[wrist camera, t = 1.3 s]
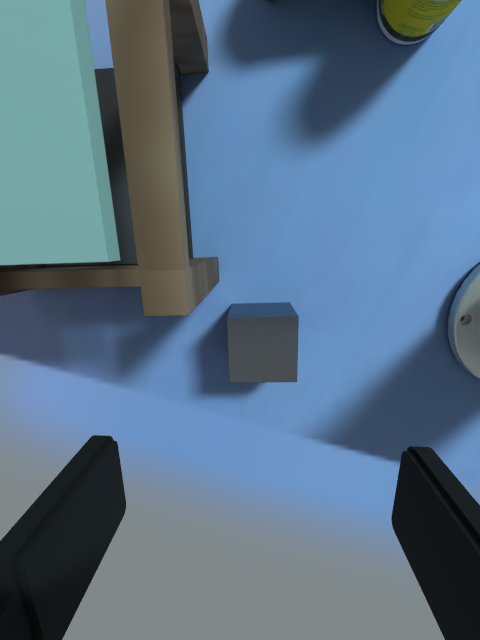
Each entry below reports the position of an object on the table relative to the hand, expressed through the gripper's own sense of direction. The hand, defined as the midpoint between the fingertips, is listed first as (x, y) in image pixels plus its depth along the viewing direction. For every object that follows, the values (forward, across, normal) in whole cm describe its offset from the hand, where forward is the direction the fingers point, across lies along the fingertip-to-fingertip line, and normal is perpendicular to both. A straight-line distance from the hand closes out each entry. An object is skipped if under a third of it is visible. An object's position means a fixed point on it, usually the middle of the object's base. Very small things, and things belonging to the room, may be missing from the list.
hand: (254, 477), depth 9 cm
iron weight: (+17, 0, 0) cm, 17 cm away
